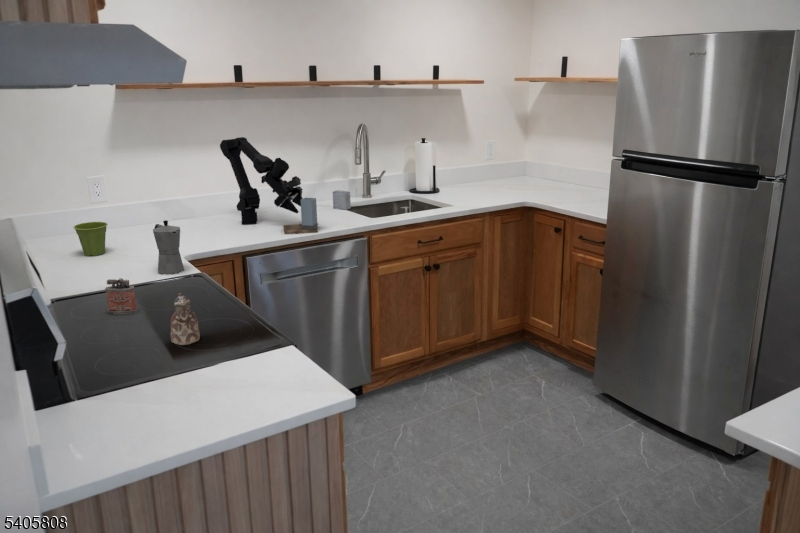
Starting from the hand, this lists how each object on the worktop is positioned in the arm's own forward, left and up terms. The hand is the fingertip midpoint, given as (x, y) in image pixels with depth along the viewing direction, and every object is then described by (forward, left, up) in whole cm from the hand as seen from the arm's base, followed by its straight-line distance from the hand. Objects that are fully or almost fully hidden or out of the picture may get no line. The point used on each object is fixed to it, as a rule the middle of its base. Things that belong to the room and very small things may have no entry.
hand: (302, 210), depth 282 cm
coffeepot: (-49, -48, -9) cm, 70 cm away
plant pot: (-80, -20, -9) cm, 83 cm away
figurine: (-37, -114, -9) cm, 120 cm away
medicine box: (+22, +42, -9) cm, 49 cm away
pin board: (-1, +1, -9) cm, 9 cm away
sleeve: (+3, -1, -8) cm, 8 cm away
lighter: (-57, -89, -9) cm, 106 cm away
